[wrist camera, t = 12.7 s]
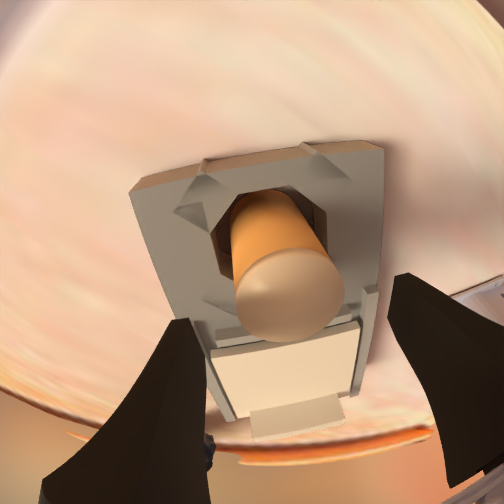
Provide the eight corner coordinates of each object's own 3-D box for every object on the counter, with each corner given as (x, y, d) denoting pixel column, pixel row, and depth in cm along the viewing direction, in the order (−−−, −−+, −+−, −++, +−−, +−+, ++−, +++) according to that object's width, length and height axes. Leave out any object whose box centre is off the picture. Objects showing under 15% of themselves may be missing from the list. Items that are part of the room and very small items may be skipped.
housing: (361, 136, 14) (393, 148, 11) (349, 367, 24) (361, 396, 21) (140, 173, 14) (121, 194, 11) (223, 393, 24) (224, 424, 21)
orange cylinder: (297, 184, 15) (347, 248, 9) (301, 248, 17) (340, 331, 11) (224, 195, 15) (227, 267, 9) (235, 258, 17) (244, 349, 11)
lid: (356, 320, 17) (375, 358, 14) (346, 388, 21) (357, 419, 18) (210, 349, 17) (210, 393, 14) (237, 411, 21) (240, 444, 18)
